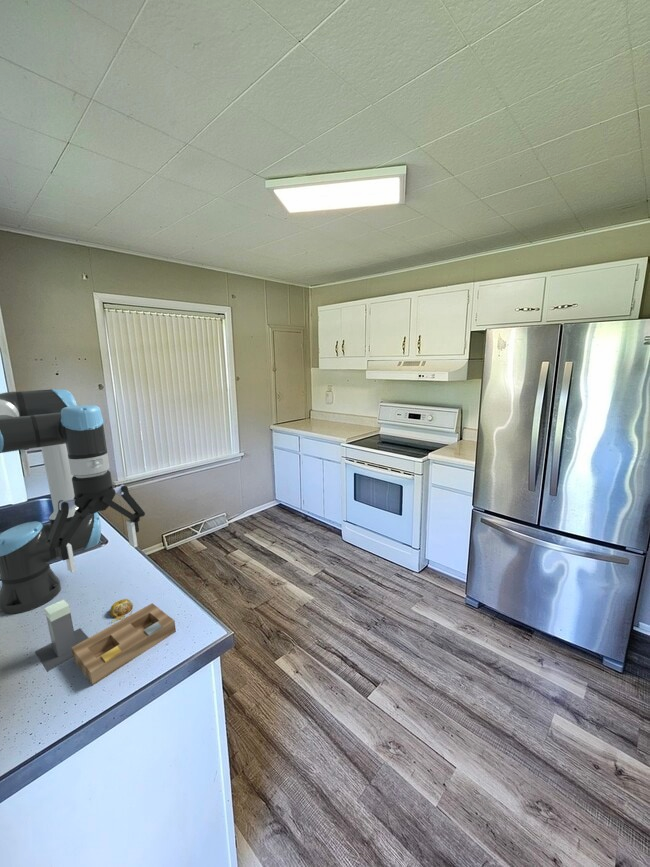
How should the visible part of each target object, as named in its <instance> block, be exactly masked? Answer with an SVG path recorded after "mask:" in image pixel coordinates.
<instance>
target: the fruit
mask: <svg viewBox="0 0 650 867" xmlns="http://www.w3.org/2000/svg"><path fill="white" fill-rule="evenodd" d="M133 611H134V605H133V603H132V601H131V600H130V599H128V598H124V599H123V598H122V599H119V600H117V601H115V602H114V603H113V604H112V605H111V607H110V611H109V612H110V616H111V617H112V618H113V620H112V621H111V622H110V624H111V625H113V624H114V623H116V622H119V621H121V620H122V619H124V618H126V616H125V615H126V614H128V616H130V615H132V614H133Z"/></svg>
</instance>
